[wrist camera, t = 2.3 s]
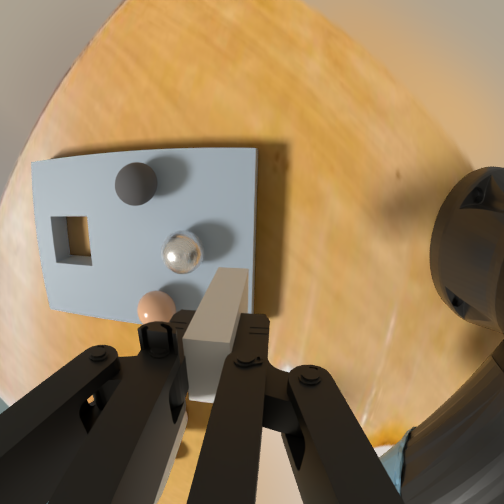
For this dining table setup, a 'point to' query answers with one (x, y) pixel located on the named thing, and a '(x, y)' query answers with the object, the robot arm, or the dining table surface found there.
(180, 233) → the steel ball
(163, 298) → the terracotta ball
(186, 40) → the dining table surface
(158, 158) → the board
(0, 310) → the dining table surface
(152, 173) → the black ball
